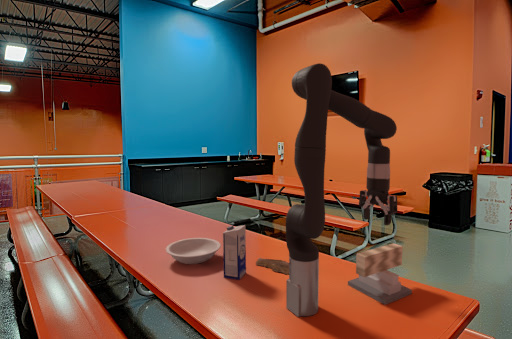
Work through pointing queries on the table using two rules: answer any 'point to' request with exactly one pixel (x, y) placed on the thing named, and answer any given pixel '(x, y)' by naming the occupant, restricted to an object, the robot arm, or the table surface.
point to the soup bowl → (193, 250)
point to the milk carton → (234, 252)
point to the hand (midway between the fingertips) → (376, 222)
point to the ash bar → (378, 259)
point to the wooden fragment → (274, 265)
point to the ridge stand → (381, 286)
